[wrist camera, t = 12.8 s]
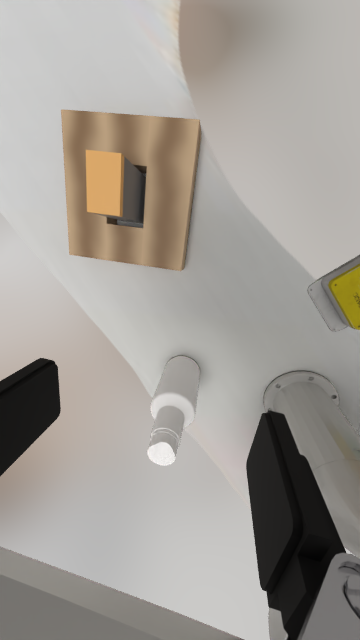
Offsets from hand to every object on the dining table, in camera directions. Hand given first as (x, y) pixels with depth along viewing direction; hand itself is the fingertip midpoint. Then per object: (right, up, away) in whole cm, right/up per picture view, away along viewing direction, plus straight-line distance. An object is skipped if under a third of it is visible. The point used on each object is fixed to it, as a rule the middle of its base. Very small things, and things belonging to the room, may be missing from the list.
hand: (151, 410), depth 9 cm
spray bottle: (+2, -6, +32) cm, 33 cm away
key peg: (-6, +22, +23) cm, 33 cm away
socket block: (-6, +22, +23) cm, 33 cm away
